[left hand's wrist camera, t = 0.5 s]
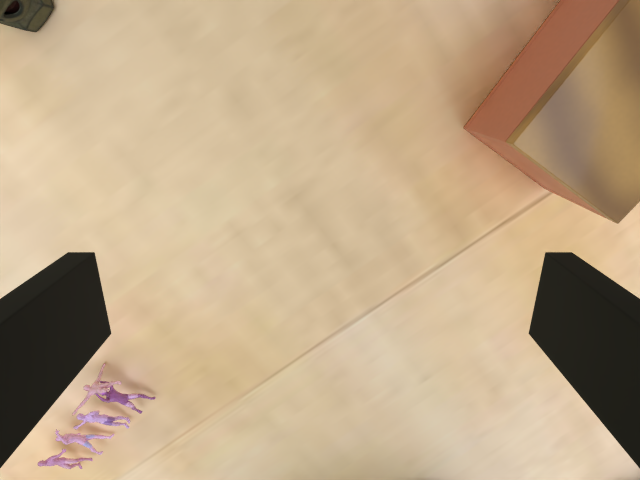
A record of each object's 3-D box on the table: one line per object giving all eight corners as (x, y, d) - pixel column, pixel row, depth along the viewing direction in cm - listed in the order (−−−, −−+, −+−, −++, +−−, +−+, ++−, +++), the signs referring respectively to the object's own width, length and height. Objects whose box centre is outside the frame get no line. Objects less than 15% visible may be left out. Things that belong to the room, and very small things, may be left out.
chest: (603, -56, 32) (701, -104, 24) (689, 24, 34) (808, 7, 26) (463, 127, 37) (504, 141, 29) (545, 189, 39) (607, 218, 31)
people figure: (76, 493, 49) (5, 482, 44) (85, 445, 53) (22, 430, 49) (176, 408, 44) (109, 386, 40) (177, 364, 49) (116, 340, 44)
